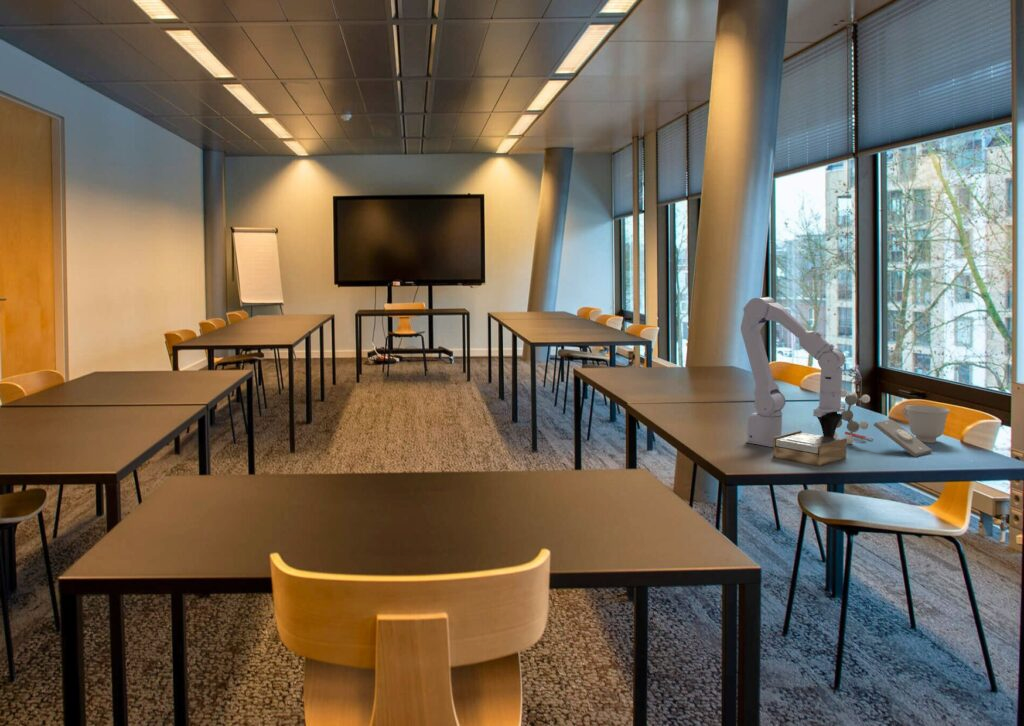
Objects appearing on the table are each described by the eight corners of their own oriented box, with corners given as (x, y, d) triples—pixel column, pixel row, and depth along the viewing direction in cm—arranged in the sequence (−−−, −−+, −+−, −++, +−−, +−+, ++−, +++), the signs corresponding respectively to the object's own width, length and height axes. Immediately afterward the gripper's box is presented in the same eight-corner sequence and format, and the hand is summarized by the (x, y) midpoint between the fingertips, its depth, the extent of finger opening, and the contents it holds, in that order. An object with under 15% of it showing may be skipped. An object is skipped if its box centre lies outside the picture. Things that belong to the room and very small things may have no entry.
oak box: (772, 457, 219) (773, 437, 218) (799, 449, 228) (799, 430, 227) (820, 466, 208) (821, 445, 207) (845, 458, 217) (846, 438, 216)
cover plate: (775, 445, 218) (776, 439, 217) (802, 438, 227) (802, 432, 226) (817, 453, 208) (818, 446, 208) (843, 445, 217) (843, 439, 217)
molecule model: (887, 453, 234) (900, 402, 233) (848, 444, 228) (862, 392, 228) (838, 440, 252) (850, 392, 252) (801, 431, 246) (813, 383, 246)
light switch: (917, 451, 217) (876, 419, 227) (906, 467, 220) (866, 435, 230) (934, 447, 222) (893, 416, 232) (923, 463, 225) (883, 432, 235)
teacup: (917, 433, 249) (919, 402, 247) (957, 443, 235) (959, 410, 233) (887, 436, 245) (889, 404, 244) (926, 446, 231) (928, 413, 230)
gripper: (831, 396, 215) (829, 444, 216) (856, 390, 224) (854, 437, 226) (807, 393, 220) (805, 440, 222) (832, 387, 229) (830, 433, 231)
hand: (828, 438), depth 224 cm, fingers closed
